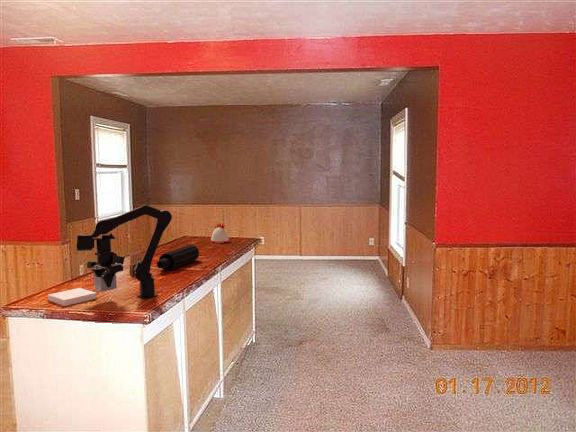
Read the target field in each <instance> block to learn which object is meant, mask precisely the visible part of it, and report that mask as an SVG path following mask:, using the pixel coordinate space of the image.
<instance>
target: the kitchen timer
mask: <svg viewBox="0 0 576 432" xmlns="http://www.w3.org/2000/svg"><path fill="white" fill-rule="evenodd" d="M225 227H226V225H225V224H224V223H221V222H220V223H219V222H218V223H217V224H216V225H215V226H214V228H215V229H214V230H213V232H212V235H211V237H210V242H211V241H213V242H225V241H229V242H230V238H229V234H228V233H227V230H225Z"/></svg>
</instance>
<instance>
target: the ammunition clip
mask: <svg viewBox="0 0 576 432" xmlns="http://www.w3.org/2000/svg"><path fill="white" fill-rule="evenodd" d="M142 258H143V257H142V251H141V249H138V250H135V251H132V252H130V262H129V264H130V265H129V275H130V276H135V272H134V268H135V267H136V264H137V260H138V261H141V260H142Z"/></svg>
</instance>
